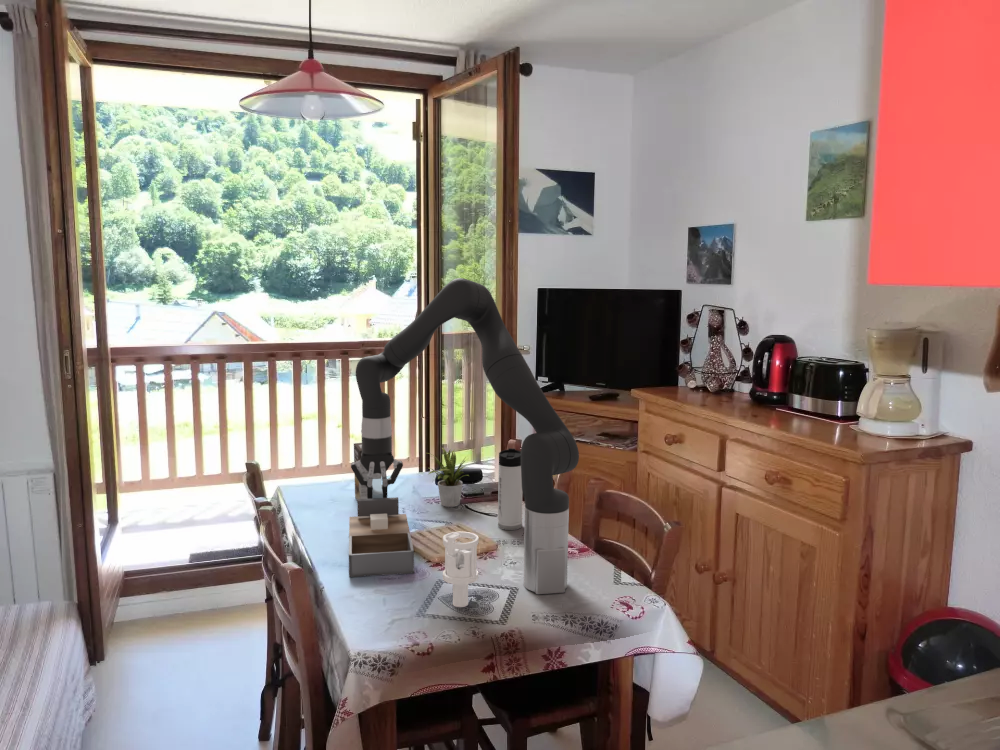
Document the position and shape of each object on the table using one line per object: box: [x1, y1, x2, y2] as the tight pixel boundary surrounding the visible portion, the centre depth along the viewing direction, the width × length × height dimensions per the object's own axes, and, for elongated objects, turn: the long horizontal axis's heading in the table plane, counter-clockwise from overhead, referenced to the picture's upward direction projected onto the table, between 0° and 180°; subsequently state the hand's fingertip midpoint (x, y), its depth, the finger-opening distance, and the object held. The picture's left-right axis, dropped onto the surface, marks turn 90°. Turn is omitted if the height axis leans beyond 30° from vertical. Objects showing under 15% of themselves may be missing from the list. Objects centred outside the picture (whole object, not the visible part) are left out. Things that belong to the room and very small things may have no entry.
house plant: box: [427, 447, 470, 508], centre depth 218 cm, size 14×14×16 cm
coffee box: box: [353, 442, 382, 500], centre depth 220 cm, size 9×6×16 cm
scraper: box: [356, 479, 400, 517], centre depth 197 cm, size 16×10×5 cm, turn 11°
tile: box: [370, 514, 388, 530], centre depth 184 cm, size 4×4×2 cm
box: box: [348, 532, 415, 578], centre depth 173 cm, size 12×14×5 cm
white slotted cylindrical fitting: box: [442, 530, 479, 608], centre depth 153 cm, size 7×7×15 cm
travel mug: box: [497, 448, 523, 531], centre depth 199 cm, size 6×7×20 cm
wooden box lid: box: [348, 513, 411, 554], centre depth 186 cm, size 14×14×5 cm
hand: (377, 499), depth 196 cm, fingers closed on scraper, 2 cm apart
